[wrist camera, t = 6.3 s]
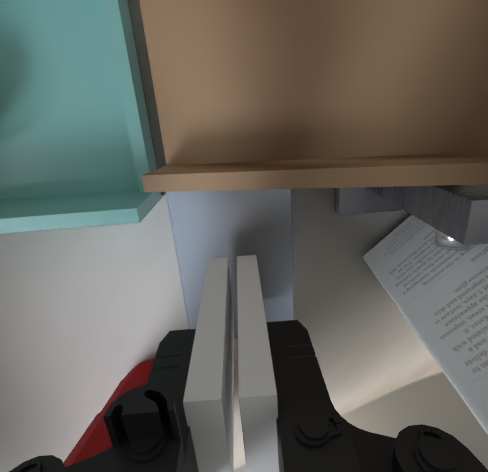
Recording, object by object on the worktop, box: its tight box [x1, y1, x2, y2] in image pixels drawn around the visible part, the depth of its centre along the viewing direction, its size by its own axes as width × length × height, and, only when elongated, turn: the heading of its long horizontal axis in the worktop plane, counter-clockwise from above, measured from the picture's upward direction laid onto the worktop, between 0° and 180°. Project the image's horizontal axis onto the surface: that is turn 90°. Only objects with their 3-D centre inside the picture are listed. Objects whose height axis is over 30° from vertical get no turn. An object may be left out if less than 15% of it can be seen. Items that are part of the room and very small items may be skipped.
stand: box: [335, 184, 488, 251], centre depth 11 cm, size 6×13×7 cm, turn 4°
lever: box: [139, 0, 488, 338], centre depth 10 cm, size 22×15×4 cm
